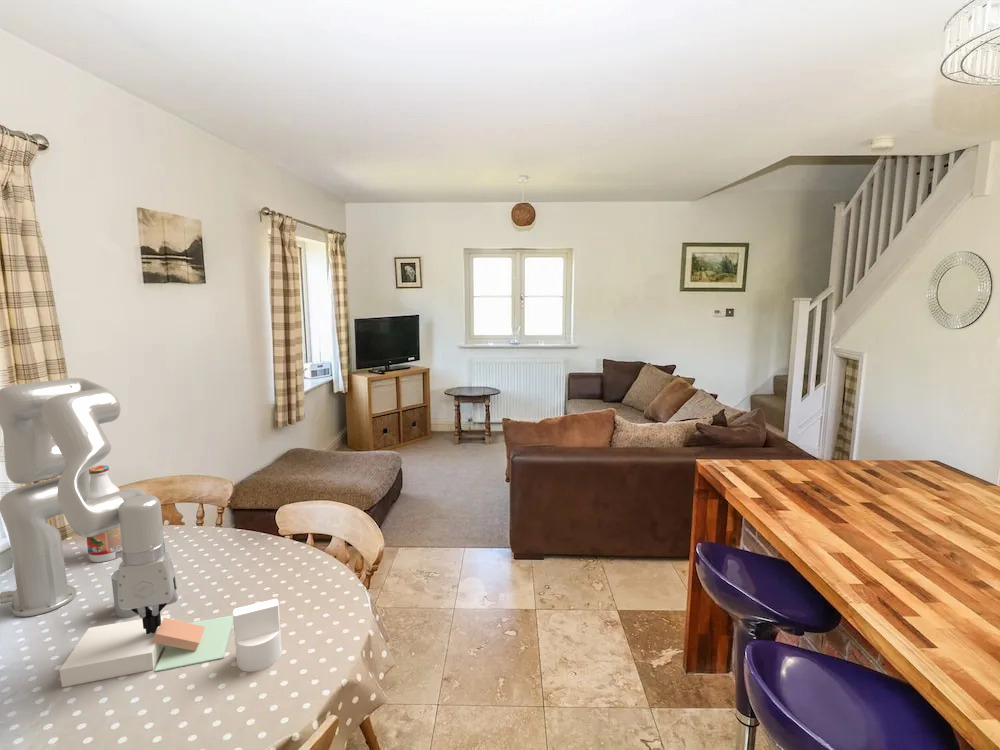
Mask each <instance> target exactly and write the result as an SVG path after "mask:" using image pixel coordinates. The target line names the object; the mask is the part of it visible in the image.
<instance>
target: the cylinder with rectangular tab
mask: <svg viewBox="0 0 1000 750" xmlns="http://www.w3.org/2000/svg"><path fill="white" fill-rule="evenodd" d="M232 615H233V620H234V622H233V630H234V643H235V644H234V645H235V652H236V653H235V655H236V657H235V658H236V665H237V667H238V669H240V670H241V671H243V672H250V673H251V672H258V671H262V670H265V669H268V668H269V667H270V666H273V665H274V664H275V663H277V662H278V661H279V659H280V658H281V656H282V654H283V653H282V651H283V650H282V635H281V634H282V632H281V617H280V602H279V600H278V598H272V599H268V600H264V601H261V602H256V603H253V604H249V605H244V606H240V607H236V608H233V611H232ZM281 653H282V654H281Z"/></svg>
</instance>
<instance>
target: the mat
mask: <svg viewBox="0 0 1000 750" xmlns="http://www.w3.org/2000/svg"><path fill="white" fill-rule="evenodd" d="M189 623H190V624H195V625H199V626H204V627H205V629H204V631H203V634H202V637H201V640H200V642H199V645H198V647H197V649H196V651H192V650H187V649H182V648H178V647H173V646H168V645H165V646H164V648H163V650H162V652H161V655H160V657H159V659H158V661H157V663H156V666H155V668H154V673H156V672H163V671H168V670H172V669H177V668H182V667H186V666H187V667H188V666H192V665H197V664H202V663H207V662H212V661H217V660H222V659H224V658H225V655H226V654H225V653H226V651H227V647H228V642H229V639H230V635H231V631H232V629H233V626H234V620H233V614H231V615H227V616H222V617H221V616H220V617H216V618H210V619H204V620H198V621H194V622H193V621H192V622H189Z"/></svg>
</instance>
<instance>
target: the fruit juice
mask: <svg viewBox="0 0 1000 750" xmlns="http://www.w3.org/2000/svg"><path fill="white" fill-rule="evenodd" d="M109 471H110V468H109V465H94V466H92V467H90V468H89V491H90V492H89V499H88V501H89V500H92V499H95V498H98V497H102V496H105V495H108V494H111V493H115V492H118V491H121V490H120V488H119V487H118V485H116V484H115V483H113V482H112V480H111V478H110V476H109ZM85 538H86V545H87V554H88V559H89V560H90V561H91V562H93V563H103V562H109V561H112V560H115V559H117V558H116V557H115V553H116V552H117V551H120V550H122V541H121V532H120V527H117V528H114V529H112V530H109V531H106V532H104V533H101V534H98V535H95V536H92V537H85Z"/></svg>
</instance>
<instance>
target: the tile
mask: <svg viewBox="0 0 1000 750" xmlns="http://www.w3.org/2000/svg"><path fill="white" fill-rule="evenodd" d="M190 623H191V622H186V621H181V620H176V619H172V618H170V619H168V618H164V619H163V621H162V623H161V625H160V627H159V629H158V631H157V633H156V635H155V637H154V639H153V641H152V642H154V643H159V644H163V645H164V646H166V645H168V646H173V647H178V648H182V649H187V650H192V651H196V649H197V647H198V645H199V642H200V640H201V637H202V634H203V631H204V629H205V627H204V626H199V625H195V624H190Z"/></svg>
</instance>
